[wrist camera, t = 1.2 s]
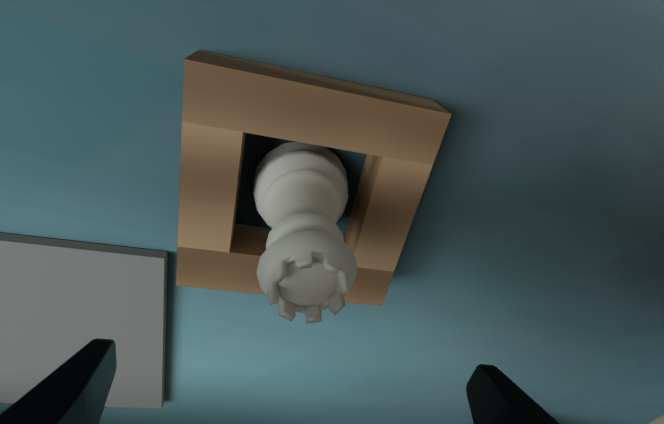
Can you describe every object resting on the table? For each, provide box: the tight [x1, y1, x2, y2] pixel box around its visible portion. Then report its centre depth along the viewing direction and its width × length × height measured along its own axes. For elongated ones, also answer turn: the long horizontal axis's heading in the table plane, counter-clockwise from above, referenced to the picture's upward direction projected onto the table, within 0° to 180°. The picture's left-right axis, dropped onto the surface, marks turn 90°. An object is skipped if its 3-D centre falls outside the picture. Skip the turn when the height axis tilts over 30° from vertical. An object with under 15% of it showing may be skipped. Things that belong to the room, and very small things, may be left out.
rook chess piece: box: [253, 142, 357, 323], centre depth 15 cm, size 4×4×8 cm
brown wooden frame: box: [176, 50, 451, 306], centre depth 18 cm, size 10×10×2 cm
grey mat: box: [0, 233, 168, 409], centre depth 21 cm, size 12×12×1 cm
